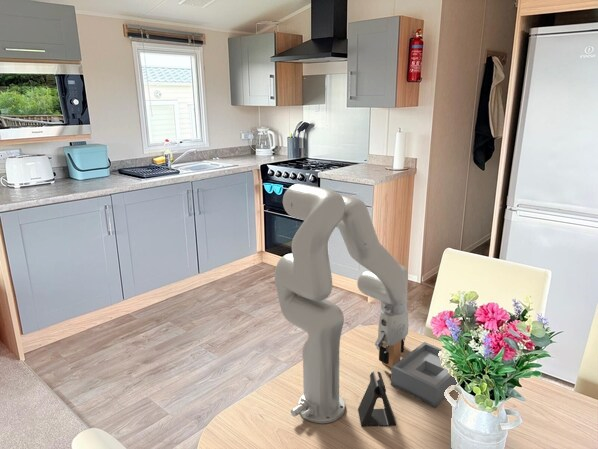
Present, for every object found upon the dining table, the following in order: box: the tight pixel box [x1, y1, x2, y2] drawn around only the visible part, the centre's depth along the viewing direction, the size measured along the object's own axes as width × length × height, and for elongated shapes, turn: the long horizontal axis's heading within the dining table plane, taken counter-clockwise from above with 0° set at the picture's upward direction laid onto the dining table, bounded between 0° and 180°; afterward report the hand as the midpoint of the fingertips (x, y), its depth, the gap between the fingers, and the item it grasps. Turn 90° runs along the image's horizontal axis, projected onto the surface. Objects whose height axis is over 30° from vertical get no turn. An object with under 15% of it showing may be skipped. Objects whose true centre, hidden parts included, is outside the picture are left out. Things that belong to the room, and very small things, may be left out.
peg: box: [381, 339, 402, 369], centre depth 134 cm, size 4×4×10 cm
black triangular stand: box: [357, 371, 397, 428], centre depth 111 cm, size 9×6×12 cm, turn 90°
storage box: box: [390, 341, 457, 408], centre depth 126 cm, size 18×14×6 cm
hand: (391, 356), depth 135 cm, fingers open, 7 cm apart
